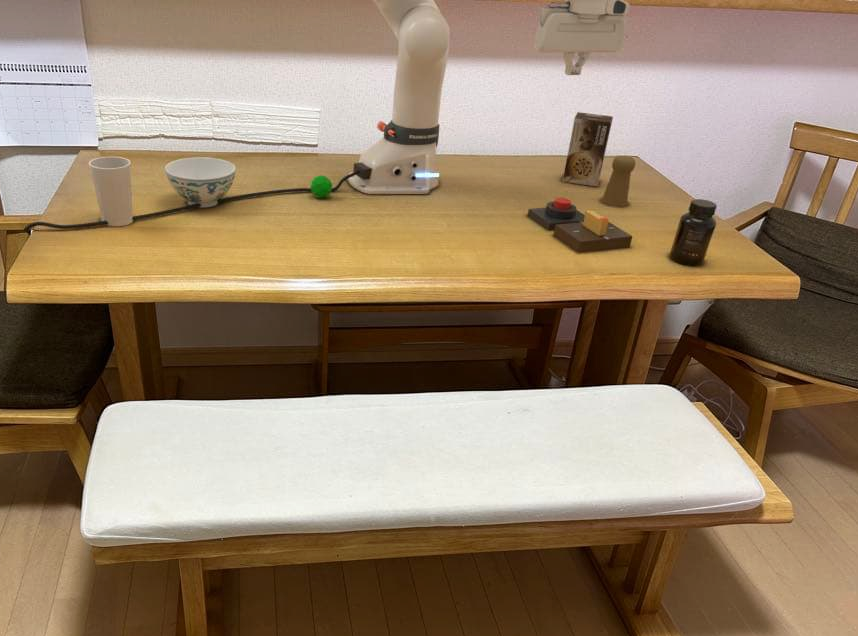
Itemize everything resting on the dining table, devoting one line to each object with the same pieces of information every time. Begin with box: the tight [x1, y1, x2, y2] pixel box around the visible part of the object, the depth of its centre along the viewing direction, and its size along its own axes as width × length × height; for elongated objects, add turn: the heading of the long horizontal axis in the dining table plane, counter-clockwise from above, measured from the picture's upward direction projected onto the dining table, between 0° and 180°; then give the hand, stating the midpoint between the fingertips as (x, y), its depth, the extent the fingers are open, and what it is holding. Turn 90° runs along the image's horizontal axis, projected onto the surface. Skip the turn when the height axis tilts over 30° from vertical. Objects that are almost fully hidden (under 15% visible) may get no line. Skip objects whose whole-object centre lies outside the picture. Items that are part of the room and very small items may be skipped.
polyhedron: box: [310, 175, 333, 199], centre depth 173 cm, size 5×5×5 cm
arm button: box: [553, 197, 572, 210], centre depth 168 cm, size 4×4×2 cm
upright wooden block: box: [583, 210, 610, 236], centre depth 158 cm, size 6×2×3 cm, turn 21°
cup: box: [88, 156, 134, 227], centre depth 153 cm, size 8×8×12 cm
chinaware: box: [164, 156, 237, 209], centre depth 165 cm, size 15×15×8 cm
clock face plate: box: [553, 221, 633, 254], centre depth 160 cm, size 13×10×3 cm
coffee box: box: [561, 111, 614, 187], centre depth 190 cm, size 9×6×16 cm
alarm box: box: [526, 201, 585, 231], centre depth 169 cm, size 11×9×4 cm
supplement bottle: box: [669, 198, 717, 267], centre depth 152 cm, size 7×7×12 cm
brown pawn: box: [601, 155, 636, 208], centre depth 179 cm, size 6×6×11 cm
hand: (572, 74), depth 162 cm, fingers closed
